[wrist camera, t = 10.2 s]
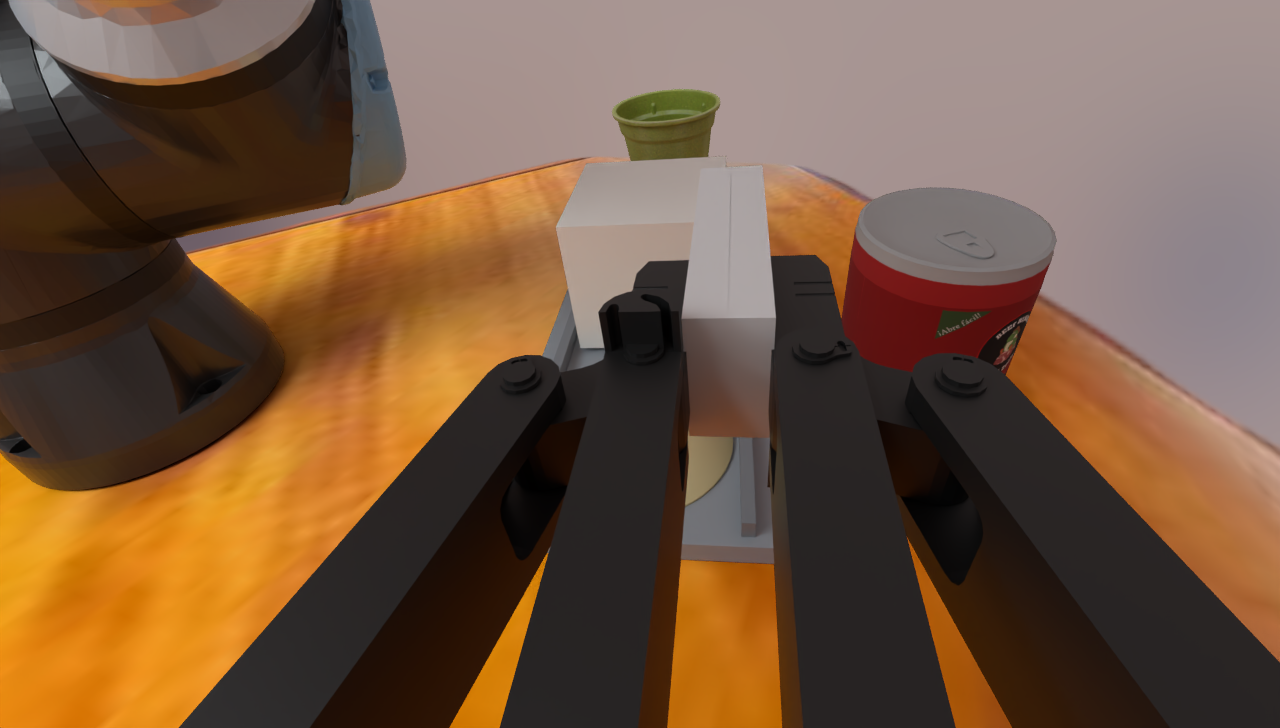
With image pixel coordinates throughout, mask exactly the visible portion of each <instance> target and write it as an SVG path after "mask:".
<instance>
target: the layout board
mask: <svg viewBox="0 0 1280 728" xmlns="http://www.w3.org/2000/svg"><path fill="white" fill-rule="evenodd" d="M604 354H605V349H604V348H580V344H579V339H578V334H577V330H576V325H575V320H574V315H573V310H572V305H571V300H570V295H569V290H567V292H566V295H565V298H564V300H563V303H562V306H561V308H560V311H559V313H558V316H557V319H556V321H555V324H554V327H553V329H552V332H551V334H550V337H549V340H548V342H547V345H546V348H545V350H544V353H543V355H542V356H543V357H546V358H549V359H552V360H553V361H554V362H555V363H556V364H557V365H558V366H559V370H560V372H565V371H570V370H574V369H579V368H583V367H586V366H589V365H593V364H595V363H597V362H599V361H601V360H603V358H604ZM769 448H770V437H769V438H746V437H703V436H689V431H688V450H689V465H688V477H687V490H686V502H685V514H684V526H683V539H682V551H681V559H683V560H703V561H724V562H745V563H766V564H774V552H773V532H772V512H771V492H770V487H767V484H768V466H769ZM550 547H551V546H550ZM549 550H550V548H549ZM549 550H548V552H547V553H549Z"/></svg>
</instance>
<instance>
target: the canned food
mask: <svg viewBox="0 0 1280 728" xmlns="http://www.w3.org/2000/svg"><path fill="white" fill-rule="evenodd" d="M1055 244H1056V236H1055V232H1054V230H1053V229H1052V227H1051V226H1050V224H1049V223H1047V221H1046V220H1044V219H1043V218H1042V217H1041V216H1040V215H1038V214H1036V213H1035V212H1033V211H1031V210H1030V209H1028V208H1026V207H1024V206H1022V205H1019V204H1017V203H1015V202H1013V201H1010V200H1007V199H1004V198H1001V197H998V196H994V195H990V194H986V193H982V192H977V191H971V190H964V189H954V188H917V189H909V190H903V191H898V192H893V193H890V194H886V195H883V196H881V197H879V198H876V199H874V200H873V201H871V202H870V203H868V204H867V205H866V206H865V207H864V208H863V209H862V211H861V212H860V215H859V218H858V223H857V226H856V229H855V235H854V241H853V247H852V251H851V258H850V265H849V272H848V278H847V285H846V292H845V299H844V305H843V312H842V319H841V321H842V325H843V330H844V334H845V336H846V337H847V338H848V339H850V340H851V341H853V342H854V344H855V345H856V347H857V349H858V350H859V353H860V356H861V357H863V358H864V359H866V360H869V361H871V362H873V363H875V364H879V365H882V366H886V367H890V368H894V369H899V370H904V371H909V372H913V368H914V365H915V364H916V363H918V362H919V361H920V360H921V359H922V358H924V357H927V356H931V355H934V354H937V353H957V354H963V355H968V356H973V357H976V358H978V359H981V360H983V361H985V362H988V363H990V364H992V365H993V366H994V367H996V368H997V369H998V370H1000V371H1001V372H1002V373H1004V374H1005V375H1006V372H1007V370H1008V367H1009V365H1010V362H1011V360H1012V357H1013V355H1014V353H1015V350H1016V348H1017V345H1018V343H1019V340H1020V338H1021V335H1022V333H1023V331H1024V328H1025V326H1026V323H1027V321H1028V318H1029V316H1030V313H1031V311H1032V309H1033V306H1034V304H1035V301H1036V299H1037V296H1038V294H1039V291H1040V289H1041V287H1042V284H1043V281H1044V278H1045V275H1046V272H1047V270H1048V267H1049V265H1050V262H1051V260H1052V256H1053V252H1054V247H1055Z"/></svg>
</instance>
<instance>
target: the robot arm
mask: <svg viewBox="0 0 1280 728" xmlns="http://www.w3.org/2000/svg"><path fill="white" fill-rule="evenodd" d="M405 170H406V154H405V148H404V142H403V136H402V131H401V127H400V122H399V117H398V113H397V108H396V104H395V100H394V96H393V91H392V88H391V84H390V82H389V80H388V71H387V68H386V64H385V60H384V53H383V49H382V45H381V41H380V37H379V33H378V29H377V25H376V21H375V18H374V14H373V11H372V7H371V3H370V0H0V453H1V454H2V455H3V457H4V458H5V459H6V460H8V461H9V462H10V463H11V464H12V465H13V466H15V467H16V468H17V469H18V470H19V471H21V472H22V473H23V474H24V475H25V476H26V477H28V478H29V479H30V480H31V481H33V482H34V483H36V484H38V485H40V486H43V487H46V488H50V489H57V490H82V489H91V488H97V487H103V486H108V485H112V484H116V483H120V482H124V481H127V480H130V479H133V478H137V477H140V476H142V475H145V474H148V473H151V472H153V471H156V470H158V469H161V468H163V467H165V466H168V465H170V464H172V463H174V462H176V461H179V460H181V459H183V458H185V457H187V456H188V455H190V454H192V453H194V452H196V451H198V450H200V449H201V448H203V447H205V446H206V445H208V444H210V443H211V442H213V441H215V440H216V439H218V438H219V437H221V436H222V435H224V434H225V433H226V432H228V431H229V430H231V429H232V428H233V427H235V426H236V425H237V424H239V423H240V422H241V421H242V420H243V419H245V418H246V417H247V416H248V415H249V414H250V413H251V412H253V411H254V410H255V409H256V408H257V407H258V406H259V405H260V404H261V403H262V401H263V400H264V399H265V398H266V397H267V396H268V394H269V393H270V392H271V391H272V389H273V388H274V386H275V385H276V383H277V381H278V379H279V377H280V375H281V373H282V370H283V366H284V353H283V350H282V348H281V346H280V345H279V343H278V342H277V340H276V338H275V337H274V335H273V334H272V332H271V330H270V329H269V327H268V326H267V324H266V323H265V322H264V321H263V320H262V319H261V318H260V317H259V316H258V315H256V314H255V313H254V312H253V311H251V310H250V309H249V308H248V307H246V306H245V305H244V304H243V303H241V302H240V301H239V300H238V299H236V298H235V297H234V296H233V295H231V294H230V293H229V292H228V291H226V290H225V289H224V288H223V287H222V286H220V285H219V284H218V283H217V282H215V281H214V280H213V279H212V278H210V277H209V276H208V275H207V274H205V273H204V272H203V271H202V270H200V269H199V268H198V267H197V266H195V265H194V264H193V263H192V262H191V260H190V259H189V258H188V256H187V255H186V253H185V252H184V250H183V249H182V247H181V246H180V245H179V243H178V242H177V240H176V239H175V238H179V237H184V236H187V235H192V234H197V233H201V232H207V231H211V230H216V229H221V228H226V227H231V226H235V225H241V224H245V223H250V222H255V221H260V220H265V219H270V218H275V217H280V216H285V215H290V214H295V213H299V212H304V211H309V210H314V209H319V208H323V207H329V206H334V205H346V204H349V203H351V202H352V201H353V200H354V199H355V198H359V197H363V196H366V195H370V194H373V193H377V192H380V191H384V190H387V189H390V188H392V187H394V186H395V185H396V184H398V183H399V182H400V180H401V179H402V177H403V175H404V173H405ZM598 314H599V320H600V326H601V331H602V337H603V343H604V349H605V354H604V358H603V360H601V361H599V362H597V363H595V364H593V365H589V366H586V367H583V368H579V369H574V370H570V371H565V372H560V370H559V366H558V365H557V364H556V363H555V362H554V361H553V360H552V359H549V358H546V357H543V356H540V355H524V356H519V357H515V358H511V359H509V360H507V361H504V362H502V363H500V364H498V365H497V366H496V367H495V368H493V369H492V370H491V371H490V372H489V373H487V375H486V376H485V377H484V378H483V379H482V380H481V382H480V383H479V384H478V385H477V386H476V387H475V388H474V390H473V391H472V392H471V393H470V394H469V395H468V396H467V398H466V399H465V400H464V401H463V402H462V403H461V404H460V406H459V407H458V408H457V409H456V410H455V411H454V412H453V414H452V415H451V416H450V417H449V418H448V419H447V421H446V422H445V423H444V424H443V425H442V426H441V427H440V429H439V430H438V431H437V432H436V433H435V434H434V435H433V437H432V438H431V439H430V440H429V441H428V442H427V443H426V445H425V446H424V447H423V448H422V449H421V450H420V452H419V453H418V454H417V455H416V456H415V457H414V458H413V460H412V461H411V462H410V463H409V464H408V465H407V466H406V468H405V469H404V470H403V471H402V472H401V473H400V474H399V476H398V477H397V478H396V479H395V480H394V481H393V482H392V484H391V485H390V486H389V487H388V488H387V489H386V491H385V492H384V493H383V494H382V495H381V496H380V497H379V499H378V500H377V501H376V502H375V503H374V504H373V505H372V507H371V508H370V509H369V510H368V511H367V512H366V513H365V515H364V516H363V517H362V518H361V519H360V520H359V522H358V523H357V524H356V525H355V526H354V527H353V528H352V530H351V531H350V532H349V533H348V534H347V535H346V536H345V538H344V539H343V540H342V541H341V542H340V543H339V544H338V546H337V547H336V548H335V549H334V550H333V551H332V552H331V554H330V555H329V556H328V557H327V558H326V559H325V561H324V562H323V563H322V564H321V565H320V566H319V567H318V569H317V570H316V571H315V572H314V573H313V574H312V575H311V577H310V578H309V579H308V580H307V581H306V582H305V583H304V585H303V586H302V587H301V588H300V589H299V590H298V592H297V593H296V594H295V595H294V596H293V597H292V598H291V600H290V601H289V602H288V603H287V604H286V605H285V606H284V608H283V609H282V610H281V611H280V612H279V613H278V614H277V616H276V617H275V618H274V619H273V620H272V621H271V623H270V624H269V625H268V626H267V627H266V628H265V629H264V631H263V632H262V633H261V634H260V635H259V636H258V637H257V639H256V640H255V641H254V642H253V643H252V644H251V645H250V647H249V648H248V649H247V650H246V651H245V652H244V653H243V655H242V656H241V657H240V658H239V659H238V660H237V662H236V663H235V664H234V665H233V666H232V667H231V668H230V670H229V671H228V672H227V673H226V674H225V675H224V676H223V678H222V679H221V680H220V681H219V682H218V683H217V684H216V686H215V687H214V688H213V689H212V690H211V691H210V693H209V694H208V695H207V696H206V697H205V698H204V699H203V701H202V702H201V703H200V704H199V705H198V706H197V707H196V709H195V710H194V711H193V712H192V713H191V714H190V715H189V717H188V718H187V719H186V720H185V721H184V722H183V723H182V725H181V726H180V727H179V728H449V727H450V725H451V723H452V722H453V720H454V718H455V716H456V715H457V713H458V711H459V709H460V707H461V706H462V704H463V702H464V700H465V698H466V697H467V695H468V693H469V691H470V689H471V688H472V686H473V684H474V682H475V681H476V679H477V677H478V675H479V673H480V672H481V670H482V668H483V666H484V664H485V663H486V661H487V659H488V657H489V656H490V654H491V652H492V650H493V648H494V647H495V645H496V643H497V641H498V639H499V638H500V636H501V634H502V632H503V630H504V629H505V627H506V625H507V623H508V622H509V620H510V618H511V616H512V614H513V613H514V611H515V609H516V607H517V605H518V604H519V602H520V600H521V598H522V597H523V595H524V593H525V591H526V589H527V588H528V586H529V584H530V582H531V580H532V579H533V577H534V575H535V573H536V571H537V570H538V568H539V566H540V564H541V563H542V561H543V559H544V557H545V555H546V554H547V552H548V550H549V548H550V550H549V554H548V557H547V561H546V565H545V568H544V572H543V575H542V579H541V582H540V586H539V590H538V593H537V597H536V600H535V604H534V607H533V611H532V614H531V618H530V622H529V625H528V629H527V632H526V636H525V639H524V643H523V647H522V650H521V654H520V657H519V661H518V664H517V668H516V671H515V675H514V679H513V682H512V686H511V689H510V693H509V696H508V700H507V704H506V707H505V711H504V714H503V718H502V721H501V725H500V728H667V723H668V711H669V698H670V686H671V674H672V661H673V649H674V637H675V625H676V612H677V600H678V588H679V575H680V563H681V551H682V539H683V526H684V514H685V502H686V490H687V477H688V465H689V450H688V431H689V436H703V437H746V438H769V437H770V448H769V466H768V484H767V487H770V492H771V512H772V532H773V552H774V571H775V591H776V611H777V631H778V650H779V670H780V690H781V710H782V728H956V727H955V723H954V719H953V716H952V712H951V708H950V704H949V700H948V696H947V692H946V688H945V684H944V680H943V677H942V673H941V669H940V665H939V661H938V657H937V653H936V649H935V645H934V641H933V638H932V634H931V630H930V626H929V622H928V618H927V614H926V610H925V606H924V603H923V599H922V595H921V591H920V587H919V583H918V579H917V575H916V571H915V567H914V564H913V560H912V556H911V552H910V548H909V544H908V540H907V537H908V539H909V541H910V543H911V545H912V546H913V548H914V550H915V552H916V554H917V556H918V557H919V559H920V561H921V563H922V565H923V566H924V568H925V570H926V572H927V574H928V575H929V577H930V579H931V581H932V583H933V585H934V586H935V588H936V590H937V592H938V594H939V595H940V597H941V599H942V601H943V603H944V604H945V606H946V608H947V610H948V612H949V614H950V615H951V617H952V619H953V621H954V623H955V624H956V626H957V628H958V630H959V632H960V633H961V635H962V637H963V639H964V641H965V643H966V644H967V646H968V648H969V650H970V652H971V653H972V655H973V657H974V659H975V661H976V662H977V664H978V666H979V668H980V670H981V671H982V673H983V675H984V677H985V679H986V681H987V682H988V684H989V686H990V688H991V690H992V691H993V693H994V695H995V697H996V699H997V700H998V702H999V704H1000V706H1001V708H1002V710H1003V711H1004V713H1005V715H1006V717H1007V719H1008V720H1009V722H1010V724H1011V726H1012V728H1280V662H1279V661H1278V660H1277V659H1276V658H1275V657H1274V656H1273V655H1272V654H1271V653H1270V652H1269V651H1268V650H1267V649H1266V648H1265V647H1264V646H1263V645H1262V644H1261V642H1260V641H1259V640H1258V639H1257V638H1256V637H1255V636H1254V635H1253V634H1252V633H1251V632H1250V631H1249V630H1248V629H1247V628H1246V627H1245V626H1244V625H1243V624H1242V623H1241V622H1240V620H1239V619H1238V618H1237V617H1236V616H1235V615H1234V614H1233V613H1232V612H1231V611H1230V610H1229V609H1228V608H1227V607H1226V606H1225V605H1224V604H1223V603H1222V602H1221V601H1220V600H1219V598H1218V597H1217V596H1216V595H1215V594H1214V593H1213V592H1212V591H1211V590H1210V589H1209V588H1208V587H1207V586H1206V585H1205V584H1204V583H1203V582H1202V581H1201V580H1200V579H1199V578H1198V576H1197V575H1196V574H1195V573H1194V572H1193V571H1192V570H1191V569H1190V568H1189V567H1188V566H1187V565H1186V564H1185V563H1184V562H1183V561H1182V560H1181V559H1180V558H1179V557H1178V556H1177V554H1176V553H1175V552H1174V551H1173V550H1172V549H1171V548H1170V547H1169V546H1168V545H1167V544H1166V543H1165V542H1164V541H1163V540H1162V539H1161V538H1160V537H1159V536H1158V535H1157V534H1156V532H1155V531H1154V530H1153V529H1152V528H1151V527H1150V526H1149V525H1148V524H1147V523H1146V522H1145V521H1144V520H1143V519H1142V518H1141V517H1140V516H1139V515H1138V514H1137V513H1136V512H1135V510H1134V509H1133V508H1132V507H1131V506H1130V505H1129V504H1128V503H1127V502H1126V501H1125V500H1124V499H1123V498H1122V497H1121V496H1120V495H1119V494H1118V493H1117V492H1116V491H1115V490H1114V488H1113V487H1112V486H1111V485H1110V484H1109V483H1108V482H1107V481H1106V480H1105V479H1104V478H1103V477H1102V476H1101V475H1100V474H1099V473H1098V472H1097V471H1096V470H1095V469H1094V468H1093V466H1092V465H1091V464H1090V463H1089V462H1088V461H1087V460H1086V459H1085V458H1084V457H1083V456H1082V455H1081V454H1080V453H1079V452H1078V451H1077V450H1076V449H1075V448H1074V447H1073V446H1072V444H1071V443H1070V442H1069V441H1068V440H1067V439H1066V438H1065V437H1064V436H1063V435H1062V434H1061V433H1060V432H1059V431H1058V430H1057V429H1056V428H1055V427H1054V426H1053V425H1052V424H1051V422H1050V421H1049V420H1048V419H1047V418H1046V417H1045V416H1044V415H1043V414H1042V413H1041V412H1040V411H1039V410H1038V409H1037V408H1036V407H1035V406H1034V405H1033V404H1032V403H1031V402H1030V401H1029V399H1028V398H1027V397H1026V396H1025V395H1024V394H1023V393H1022V392H1021V391H1020V390H1019V389H1018V388H1017V387H1016V386H1015V385H1014V384H1013V383H1012V382H1011V381H1010V380H1009V379H1008V377H1007V376H1006V375H1005V374H1004V373H1002V372H1001V371H1000V370H998V369H997V368H996V367H994V366H993V365H992V364H990V363H988V362H985V361H983V360H981V359H978V358H976V357H973V356H968V355H963V354H957V353H937V354H934V355H931V356H927V357H924V358H922V359H921V360H920V361H919V362H918V363H916V364H915V365H914V368H913V372H909V371H904V370H899V369H894V368H890V367H886V366H882V365H879V364H875V363H873V362H871V361H869V360H866V359H864V358H863V357H861V356H860V353H859V350H858V349H857V347H856V345H855V344H854V342H853V341H851V340H850V339H848V338H847V337H846V336H845V334H844V330H843V325H842V321H841V317H840V313H839V309H838V304H837V300H836V296H835V292H834V288H833V284H832V279H831V275H830V271H829V267H828V266H827V265H826V264H825V263H823V262H822V261H821V260H820V259H819V258H818V257H817V256H816V255H797V256H770V245H769V234H768V223H767V211H766V200H765V189H764V177H763V166H762V165H758V166H739V167H719V168H701V172H700V180H699V188H698V195H697V203H696V211H695V218H694V226H693V234H692V241H691V249H690V257H689V260H674V261H649V262H648V263H647V264H646V265H645V266H644V267H643V268H642V269H641V270H640V271H639V272H638V273H637V274H636V278H635V282H634V285H633V290H632V291H631V292H626V293H623V294H620V295H618V296H615V297H613V298H612V299H610V300H609V301H607V302H606V303H604V304H603V306H602V307H601V309H600V310H599V312H598ZM550 546H551V547H550Z"/></svg>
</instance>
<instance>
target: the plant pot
mask: <svg viewBox="0 0 1280 728" xmlns="http://www.w3.org/2000/svg"><path fill="white" fill-rule="evenodd" d="M719 106H720V99H719V97H718V96H716V95H715V94H713V93H710V92H706V91H700V90H692V89H684V90H682V89H675V90H663V91H656V92H650V93H645V94H641V95H638V96H635V97H631V98H629V99H627V100H624V101H622V102H620V103H619V104H617V105H616V106H615V107H614V108H613V110H612V114H613V117H614V119H615V120H617V121H618V123H619V127H620V130H621V132H622V134H623V135H624V137H625V140H626V144H627V148H628V152H629V156H630V160H631V161H644V160H662V159H681V158H700V157H708V152H709V144H710V134H711V127H712V126H713V123H714V118H715V112H716V110H718V108H719Z"/></svg>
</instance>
